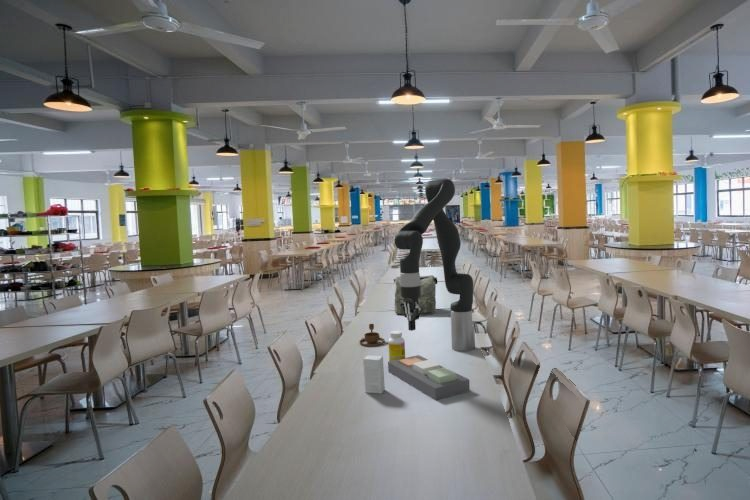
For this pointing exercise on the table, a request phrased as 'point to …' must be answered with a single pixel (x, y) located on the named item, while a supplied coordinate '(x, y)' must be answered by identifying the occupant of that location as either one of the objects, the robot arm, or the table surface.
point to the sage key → (441, 375)
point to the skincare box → (374, 374)
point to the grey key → (424, 367)
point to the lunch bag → (424, 300)
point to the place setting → (372, 338)
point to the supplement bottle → (396, 346)
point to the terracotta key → (409, 361)
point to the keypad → (428, 381)
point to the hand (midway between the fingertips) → (412, 329)
